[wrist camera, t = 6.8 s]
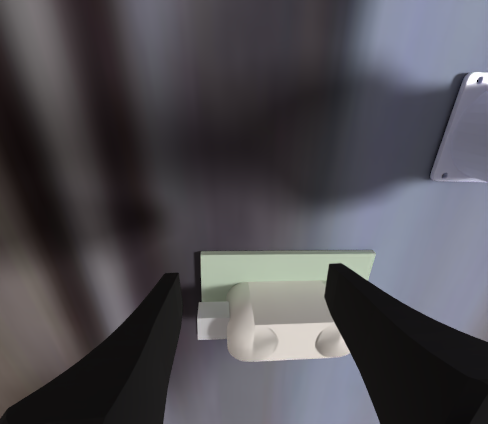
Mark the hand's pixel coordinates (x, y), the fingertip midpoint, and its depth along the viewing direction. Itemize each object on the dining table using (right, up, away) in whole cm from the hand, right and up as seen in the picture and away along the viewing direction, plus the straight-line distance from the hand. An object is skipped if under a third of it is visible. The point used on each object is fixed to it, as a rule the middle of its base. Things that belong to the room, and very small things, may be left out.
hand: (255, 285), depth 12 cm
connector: (+2, -5, +13) cm, 14 cm away
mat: (+3, -5, +13) cm, 14 cm away
